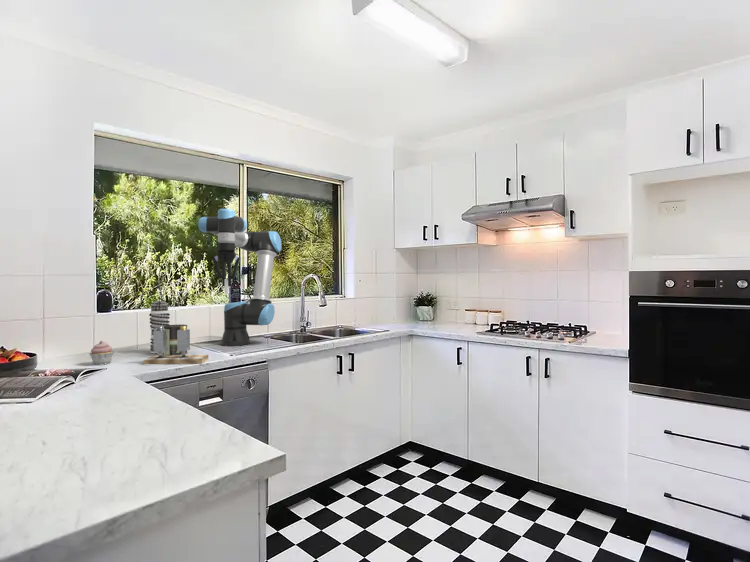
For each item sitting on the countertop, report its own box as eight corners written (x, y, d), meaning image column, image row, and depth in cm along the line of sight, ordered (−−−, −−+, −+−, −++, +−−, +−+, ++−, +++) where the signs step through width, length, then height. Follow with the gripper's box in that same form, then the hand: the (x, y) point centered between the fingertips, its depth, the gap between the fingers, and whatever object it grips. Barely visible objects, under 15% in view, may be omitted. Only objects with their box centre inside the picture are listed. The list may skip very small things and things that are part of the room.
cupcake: (84, 364, 190) (83, 341, 190) (106, 360, 198) (105, 338, 198) (97, 366, 185) (96, 342, 185) (119, 362, 194) (118, 339, 193)
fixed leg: (166, 356, 196) (166, 326, 196) (163, 358, 192) (162, 327, 192) (157, 357, 196) (156, 326, 196) (153, 358, 192) (153, 327, 192)
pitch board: (208, 359, 201) (208, 354, 201) (202, 363, 191) (201, 358, 191) (152, 360, 198) (152, 355, 198) (143, 364, 189) (143, 359, 188)
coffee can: (192, 353, 216) (191, 324, 215) (178, 357, 206) (178, 327, 205) (173, 352, 218) (172, 324, 218) (159, 356, 208) (158, 326, 207)
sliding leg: (189, 355, 197) (189, 325, 197) (187, 357, 193) (186, 326, 193) (180, 355, 197) (180, 325, 197) (177, 357, 193) (177, 326, 193)
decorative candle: (156, 354, 213) (156, 302, 213) (145, 352, 218) (145, 301, 218) (174, 351, 221) (173, 301, 221) (163, 350, 226) (162, 300, 226)
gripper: (209, 241, 202) (210, 293, 202) (239, 242, 203) (239, 293, 204) (214, 243, 209) (214, 293, 210) (242, 243, 211) (242, 293, 211)
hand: (226, 293), depth 207 cm, fingers closed
